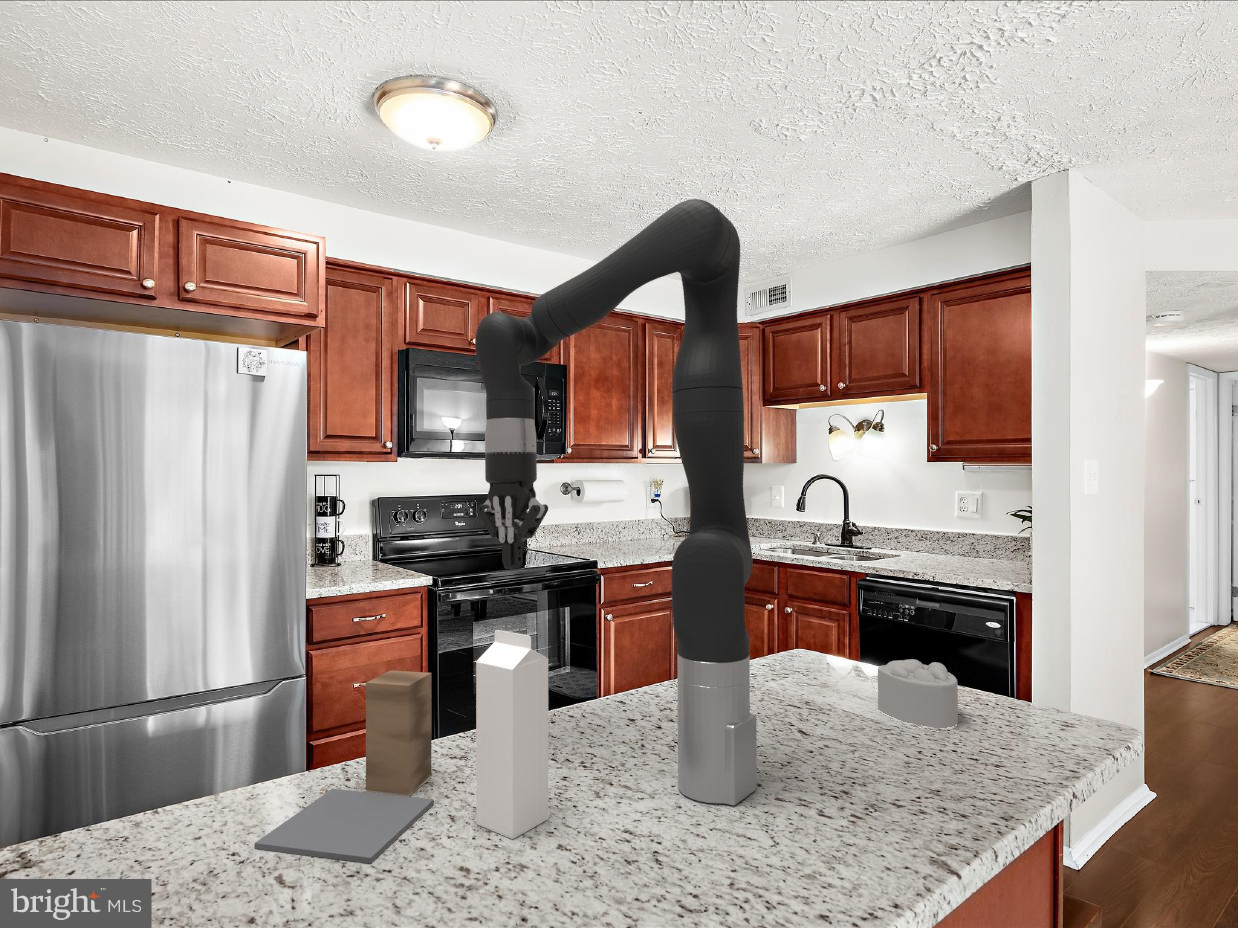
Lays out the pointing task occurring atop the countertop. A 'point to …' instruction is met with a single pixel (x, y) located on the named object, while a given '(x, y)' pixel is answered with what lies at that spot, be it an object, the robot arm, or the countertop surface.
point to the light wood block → (398, 732)
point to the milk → (511, 736)
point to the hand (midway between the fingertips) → (512, 568)
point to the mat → (346, 825)
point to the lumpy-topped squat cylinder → (918, 693)
